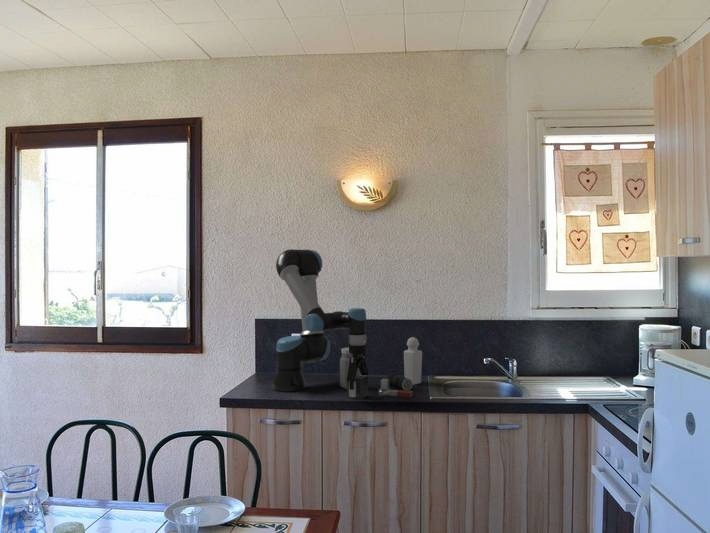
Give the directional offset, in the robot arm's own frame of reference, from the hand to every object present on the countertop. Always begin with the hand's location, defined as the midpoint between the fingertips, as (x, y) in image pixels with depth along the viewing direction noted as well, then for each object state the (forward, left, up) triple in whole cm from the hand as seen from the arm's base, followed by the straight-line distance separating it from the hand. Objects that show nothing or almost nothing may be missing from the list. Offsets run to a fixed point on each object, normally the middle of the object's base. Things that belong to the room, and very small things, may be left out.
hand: (357, 393), depth 234 cm
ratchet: (+14, +8, -1) cm, 16 cm away
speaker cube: (0, 0, -1) cm, 1 cm away
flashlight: (+12, +24, -2) cm, 27 cm away
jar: (-9, +15, -2) cm, 18 cm away
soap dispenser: (+16, +34, -2) cm, 38 cm away
